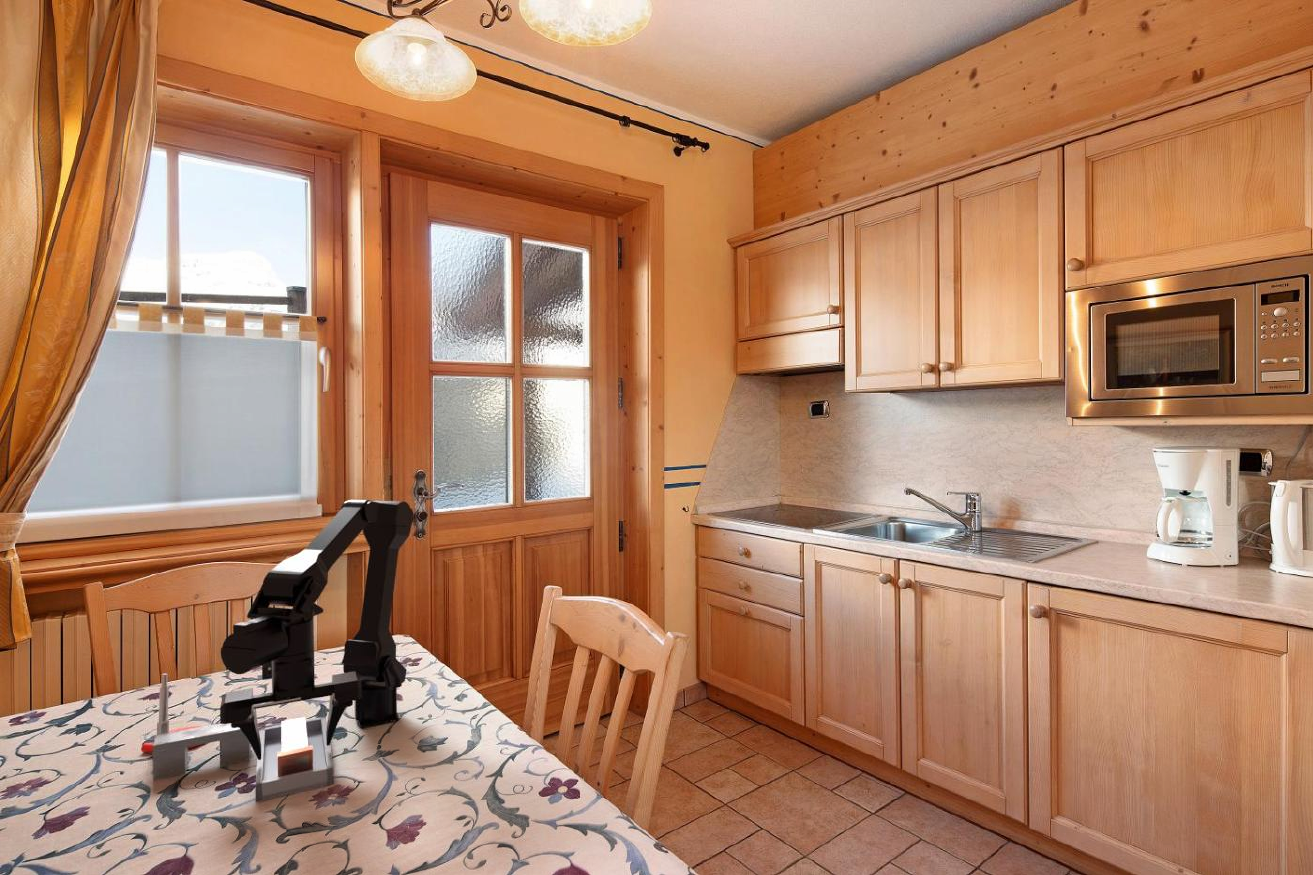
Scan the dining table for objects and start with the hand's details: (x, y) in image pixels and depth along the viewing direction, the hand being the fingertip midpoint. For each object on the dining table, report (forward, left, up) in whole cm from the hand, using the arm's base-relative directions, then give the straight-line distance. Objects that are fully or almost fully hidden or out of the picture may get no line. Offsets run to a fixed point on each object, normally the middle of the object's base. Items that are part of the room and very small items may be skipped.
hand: (294, 751), depth 104 cm
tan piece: (0, -4, -3) cm, 5 cm away
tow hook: (+17, -21, -4) cm, 27 cm away
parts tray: (0, -4, -4) cm, 5 cm away
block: (+13, -10, -4) cm, 17 cm away
